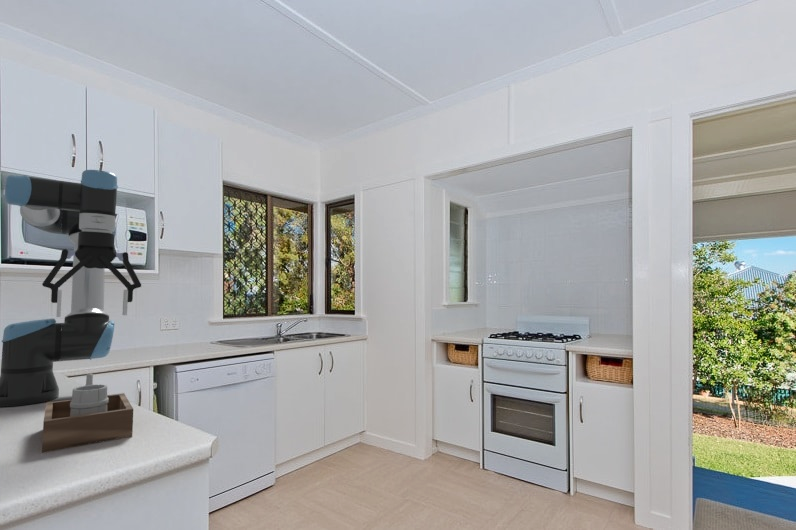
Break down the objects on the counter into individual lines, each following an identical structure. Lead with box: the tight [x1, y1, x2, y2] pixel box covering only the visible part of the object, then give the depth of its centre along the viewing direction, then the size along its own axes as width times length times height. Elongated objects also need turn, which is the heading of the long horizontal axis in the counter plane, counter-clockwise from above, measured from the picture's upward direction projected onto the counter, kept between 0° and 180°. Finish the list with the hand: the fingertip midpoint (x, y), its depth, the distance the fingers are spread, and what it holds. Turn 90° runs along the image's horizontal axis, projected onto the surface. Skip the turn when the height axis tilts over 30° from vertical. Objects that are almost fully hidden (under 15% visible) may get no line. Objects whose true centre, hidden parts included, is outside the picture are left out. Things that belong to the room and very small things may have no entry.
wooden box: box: [41, 392, 134, 453], centre depth 97 cm, size 18×15×6 cm
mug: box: [70, 373, 109, 417], centre depth 97 cm, size 8×12×12 cm, turn 38°
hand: (92, 315), depth 108 cm, fingers open, 13 cm apart
